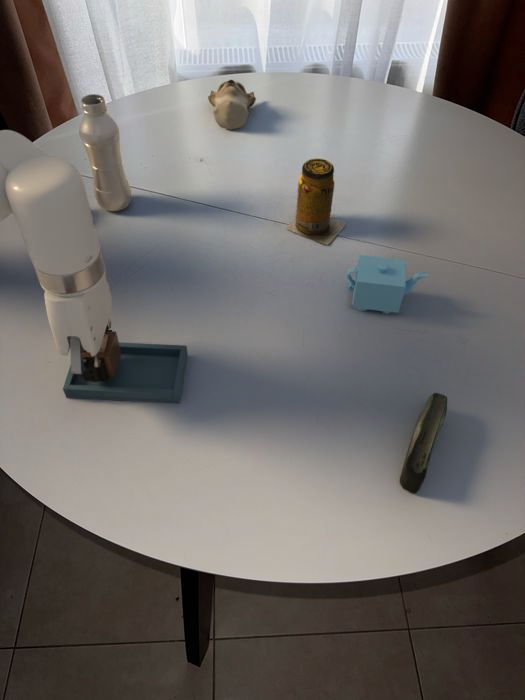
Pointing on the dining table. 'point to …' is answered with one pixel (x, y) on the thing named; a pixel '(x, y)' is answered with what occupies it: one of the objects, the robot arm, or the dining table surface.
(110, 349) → the tile
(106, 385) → the tray
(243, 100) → the ceramic sculpture
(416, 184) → the dining table surface
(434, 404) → the dark grey rounded bar
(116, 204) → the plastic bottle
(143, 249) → the dining table surface
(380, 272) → the teapot
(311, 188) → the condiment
